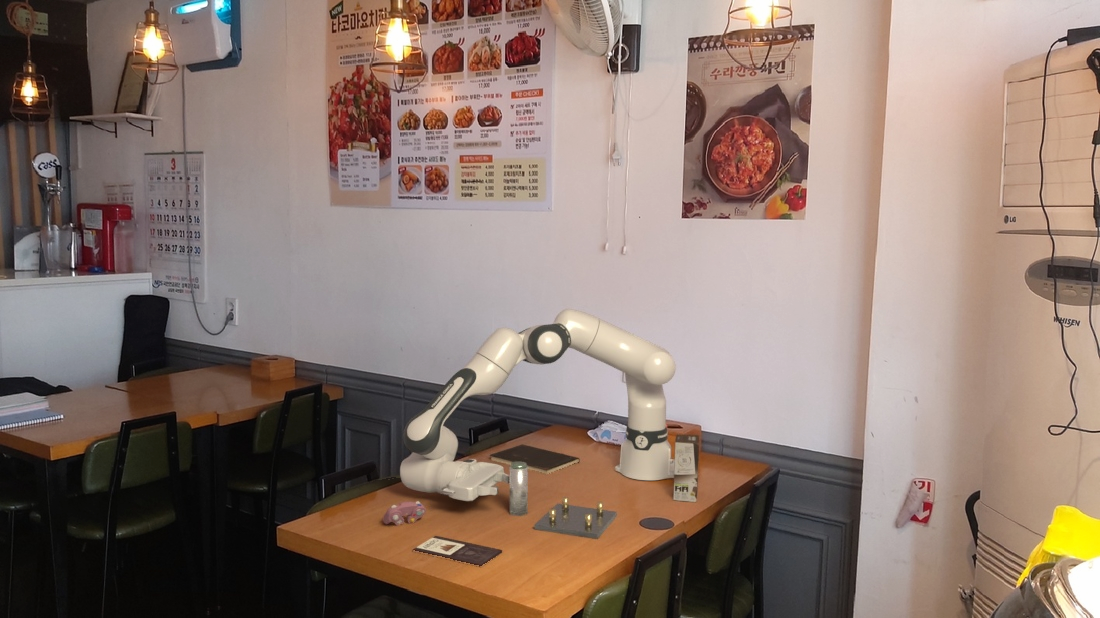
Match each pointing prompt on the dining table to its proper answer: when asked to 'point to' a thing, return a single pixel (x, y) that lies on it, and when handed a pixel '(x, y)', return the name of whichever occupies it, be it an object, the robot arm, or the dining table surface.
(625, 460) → the robot arm
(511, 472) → the canister
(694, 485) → the coffee box
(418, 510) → the video game controller
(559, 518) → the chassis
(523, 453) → the hardcover book
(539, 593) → the dining table surface
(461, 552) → the chocolate bar
